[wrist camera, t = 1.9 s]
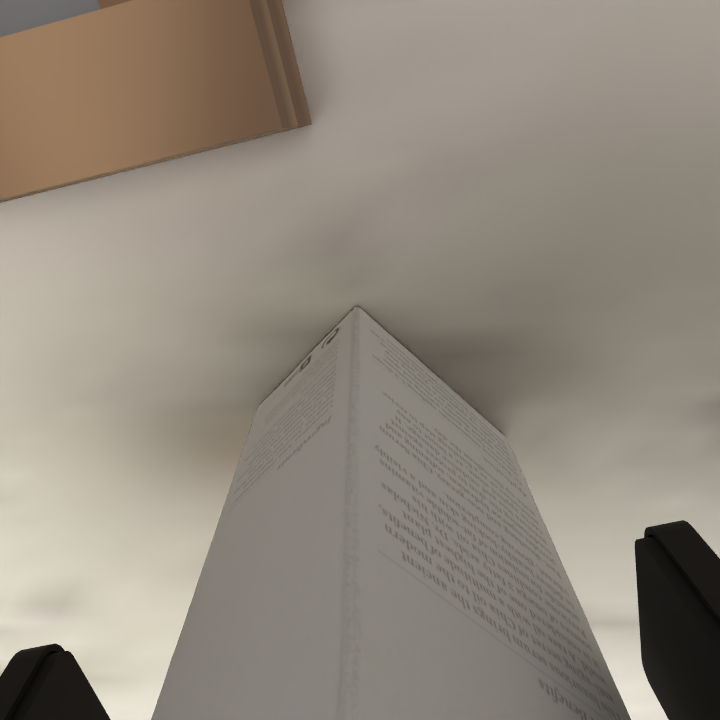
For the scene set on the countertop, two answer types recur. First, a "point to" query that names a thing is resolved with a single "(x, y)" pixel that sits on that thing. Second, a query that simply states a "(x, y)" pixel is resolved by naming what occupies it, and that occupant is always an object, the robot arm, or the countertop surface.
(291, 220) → the countertop surface
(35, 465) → the countertop surface
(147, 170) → the countertop surface
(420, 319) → the countertop surface
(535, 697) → the skincare box
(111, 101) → the brown wooden square frame
